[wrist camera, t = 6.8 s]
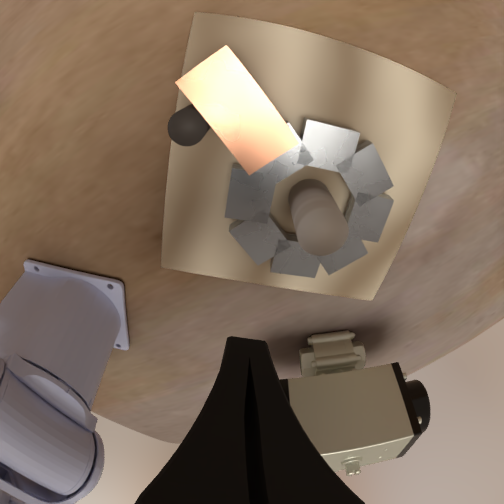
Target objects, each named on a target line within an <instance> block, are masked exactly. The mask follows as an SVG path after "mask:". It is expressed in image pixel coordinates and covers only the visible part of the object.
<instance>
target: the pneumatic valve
mask: <svg viewBox="0 0 504 504" xmlns="http://www.w3.org/2000/svg"><path fill="white" fill-rule="evenodd" d="M354 337H355V334H353V332H349V330H347V331H339V332H332V333H324V334H316V335H311V337H309V338H308V339H307V340H308V345H311V347H310V348H301V349H300V351H299V357H300V369H301V375H302V376H303V377H301V378H292V379H281V380H279V381H280V383H281V385H282V388H283V390H284V392H285V394H286V397H287V399H288V401H289V403H290V405H291V407H292V409H293V411H294V413H295V415H296V417H297V419H298V420H299V422H300V424H301V426H302V428H303V429H304V431H305V432H306V434H307V436H308V437H309V439H310V440H311V442H312V443H313V445H314V446H315V448H316V449H317V451H318V452H319V453H320V455H321V456H322V457H323V458H324V460H325V461H326V462H327V464H328V465H329V466H330V467H331V469H332V470H333V471H334V472H338V471H339V470H344V469H346V475H347V476H352V474H353V473H354V475H358V474H359V473H361V471H360V466H365V465H370V464H374V463H379V462H383V461H387V460H390V459H394V458H398V457H402V456H403V455H404V454H405V453H406V452H407V451H408V450H409V449H410V447H411V446H412V445H413V444H414V443H415V441H416V440H417V439H418V438H419V436H420V435H421V434H422V433H423V432H424V431H425V430H426V429H427V427H428V425H429V421H430V402H429V397H428V394H427V391H426V389H425V387H424V386H423V384H422V383H421V382H420V381H418V380H413V381H408V382H405V380H406V377H407V375H406V373H402V371H401V368H400V365H399V363H398V362H396V363H391V364H386V365H381V366H376V367H370V368H365V369H363V368H364V366H365V363H366V354H365V348H364V345H363V343H362V342H360V341H355V342H351V340H352V339H354Z"/></svg>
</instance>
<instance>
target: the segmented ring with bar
mask: <svg viewBox="0 0 504 504" xmlns="http://www.w3.org/2000/svg"><path fill="white" fill-rule="evenodd" d="M175 83H176V84H177V85H178V87H179V88H180V89H181V90H182V92H183V93H184V94H185V95H186V96H187V98H188V99H189V100H190V101H191V102H192V104H193V105H194V106H195V107H196V109H197V110H198V111H199V112H200V114H201V115H202V116H203V117H204V119H205V120H206V121H207V122H208V124H209V125H210V126H211V127H212V129H213V130H214V131H215V132H216V134H217V135H218V136H219V137H220V139H221V140H222V141H223V142H224V144H225V145H226V146H227V148H228V149H229V150H230V151H231V153H232V154H233V155H234V157H235V158H236V159H237V160H238V162H239V163H240V164H241V165H239V164H233V166H232V171H231V178H230V184H229V191H228V197H227V204H226V211H225V218H232V219H238V220H236V221H234V222H233V223H231V224H230V226H229V232H230V234H231V235H232V236H233V237H234V238H235V239H236V241H237V242H238V243H239V244H240V245H241V247H242V248H243V249H244V250H245V251H246V252H247V254H248V255H249V256H250V257H251V258H252V259H253V261H254V262H255V263H256V264H257V265H260V264H262V263H263V262H265V261H267V260H269V259H270V258H271V261H270V272H273V273H280V274H288V275H295V276H303V277H310V278H315V277H316V274H317V271H318V268H319V265H320V263H321V265H322V266H323V267H324V269H325V270H326V272H327V273H328V275H331V274H332V273H334V272H336V271H338V270H340V269H341V268H343V267H345V266H347V265H349V264H350V263H352V262H354V261H356V260H357V259H359V258H361V257H363V256H365V255H366V254H368V251H367V250H366V248H365V246H364V244H363V242H362V240H366V241H371V242H377V243H378V241H379V239H380V236H381V234H382V231H383V229H384V226H385V224H386V221H387V218H388V216H389V213H390V210H391V208H392V205H393V202H394V200H393V199H392V198H391V197H390V196H389V195H387V194H383V192H385V191H387V190H388V189H390V188H392V187H393V186H394V185H393V183H392V181H391V179H390V177H389V175H388V173H387V170H386V168H385V166H384V164H383V162H382V160H381V158H380V156H379V154H378V152H377V150H376V148H375V146H374V144H373V143H372V142H370V141H369V140H366V141H364V142H363V143H361V144H359V145H358V146H357V143H358V140H359V136H360V132H358V131H356V130H354V129H350V128H347V127H343V126H339V125H335V124H331V123H327V122H323V121H319V120H315V119H310V118H306V117H304V121H303V126H302V130H301V135H300V138H299V136H298V135H297V133H296V132H295V130H294V129H293V128H292V126H291V125H290V123H289V122H288V120H287V121H284V119H283V118H282V117H281V115H280V114H279V112H278V111H277V110H276V108H275V107H274V105H273V104H272V103H271V101H270V100H269V99H268V97H267V96H266V94H265V93H264V92H263V90H262V89H261V88H260V86H259V85H258V84H257V82H256V81H255V80H254V78H253V77H252V76H251V75H250V73H249V72H248V71H247V69H246V68H245V67H244V66H243V64H242V63H241V62H240V60H239V59H238V58H237V57H236V55H235V54H234V53H233V52H232V51H231V49H230V48H229V47H228V46H227V45H226V46H224V47H223V48H221V49H220V50H218V51H217V52H215V53H214V54H213V55H211V56H210V57H208V58H207V59H206V60H204V61H203V62H201V63H200V64H199V65H197V66H196V67H195V68H193V69H192V70H191V71H189V72H188V73H187V74H185V75H184V76H183V77H182V78H180V79H179V80H178V81H177V82H175ZM306 165H307V166H312V167H317V168H321V169H326V170H331V171H335V172H339V173H340V175H341V177H342V178H343V180H344V182H345V184H346V185H347V187H348V189H349V191H350V192H351V197H350V200H349V204H348V207H347V210H346V213H345V216H344V218H345V219H346V221H347V224H348V228H349V233H348V237H347V240H346V242H345V243H344V245H343V246H342V247H341V248H340V249H339V250H337V251H336V252H334V253H332V254H329V255H325V256H316V255H312V254H309V253H307V252H306V251H304V250H303V249H302V247H301V246H300V244H299V242H298V239H297V235H294V234H288V233H285V231H284V230H283V229H282V227H281V226H280V225H279V223H278V222H277V221H276V219H275V218H274V217H273V215H272V214H271V213H270V208H271V204H272V199H273V195H274V190H275V186H276V184H277V183H279V182H280V181H282V180H283V179H285V178H287V177H288V176H290V175H291V174H293V173H295V172H296V171H298V170H299V169H301V168H303V167H304V166H306Z"/></svg>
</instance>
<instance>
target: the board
mask: <svg viewBox="0 0 504 504" xmlns="http://www.w3.org/2000/svg"><path fill="white" fill-rule="evenodd" d="M226 45H227V46H228V47H229V48H230V49H231V51H232V52H233V53H234V54H235V55H236V57H237V58H238V59H239V60H240V62H241V63H242V64H243V66H244V67H245V68H246V69H247V71H248V72H249V73H250V75H251V76H252V77H253V78H254V80H255V81H256V82H257V84H258V85H259V86H260V88H261V89H262V90H263V92H264V93H265V94H266V96H267V97H268V99H269V100H270V101H271V103H272V104H273V105H274V107H275V108H276V110H277V111H278V112H279V114H280V115H281V117H282V118H283V119H284V121H287V120H288V122H289V123H290V125H291V126H292V128H293V129H294V130H295V132H296V133H297V135H298V136H299V138H300V135H301V130H302V126H303V121H304V117H306V118H310V119H315V120H319V121H323V122H327V123H331V124H335V125H339V126H343V127H347V128H350V129H354V130H356V131H358V132H360V136H359V140H358V143H357V146H358V145H359V144H361V143H363V142H364V141H366V140H369V141H370V142H372V143H373V144H374V146H375V148H376V150H377V152H378V154H379V156H380V158H381V160H382V162H383V164H384V166H385V168H386V170H387V173H388V175H389V177H390V179H391V181H392V183H393V185H394V186H393V187H392V188H390V189H388V190H387V191H385V192H383V194H387V195H389V196H390V197H391V198H392V199H393V200H394V202H393V205H392V208H391V210H390V213H389V216H388V218H387V221H386V224H385V226H384V229H383V231H382V234H381V236H380V239H379V241H378V243H377V242H371V241H366V240H362V242H363V244H364V246H365V248H366V250H367V251H368V254H366V255H365V256H363V257H361V258H359V259H357V260H356V261H354V262H352V263H350V264H349V265H347V266H345V267H343V268H341V269H340V270H338V271H336V272H334V273H332V274H331V275H328V273H327V272H326V270H325V269H324V267H323V266H322V265H321V263H320V265H319V268H318V271H317V274H316V277H315V278H310V277H303V276H295V275H288V274H280V273H273V272H270V261H271V258H270V259H269V260H267V261H265V262H263V263H262V264H260V265H257V264H256V263H255V262H254V261H253V259H252V258H251V257H250V256H249V255H248V254H247V252H246V251H245V250H244V249H243V248H242V247H241V245H240V244H239V243H238V242H237V241H236V239H235V238H234V237H233V236H232V235H231V234H230V232H229V226H230V224H231V223H233V222H234V221H236V220H238V219H232V218H225V211H226V204H227V197H228V191H229V184H230V178H231V171H232V166H233V164H239V165H241V164H240V163H239V162H238V160H237V159H236V158H235V157H234V155H233V154H232V153H231V151H230V150H229V149H228V148H227V146H226V145H225V144H224V142H223V141H222V140H221V139H220V137H219V136H218V135H217V134H216V132H215V131H214V130H213V129H212V127H211V126H210V125H209V124H208V122H207V121H206V120H205V119H204V117H203V116H202V115H201V114H200V112H199V111H198V110H197V109H196V107H195V106H194V105H193V104H192V102H191V101H190V100H189V99H188V98H187V96H186V95H185V94H184V93H183V92H182V90H181V89H180V88H179V93H178V99H177V106H176V112H175V113H174V114H173V115H172V117H171V118H170V120H169V122H168V133H169V136H170V138H171V139H172V141H171V149H170V157H169V166H168V175H167V185H166V196H165V207H164V220H163V235H162V253H161V267H162V268H167V269H173V270H178V271H184V272H190V273H195V274H201V275H207V276H213V277H218V278H224V279H230V280H236V281H242V282H248V283H255V284H261V285H267V286H273V287H280V288H286V289H293V290H299V291H306V292H313V293H320V294H327V295H334V296H341V297H348V298H355V299H363V300H370V301H372V300H373V298H374V296H375V294H376V293H377V291H378V289H379V287H380V285H381V283H382V281H383V279H384V277H385V275H386V273H387V271H388V269H389V267H390V265H391V263H392V261H393V259H394V257H395V255H396V253H397V251H398V249H399V247H400V245H401V243H402V241H403V239H404V236H405V234H406V232H407V230H408V228H409V225H410V223H411V221H412V219H413V216H414V214H415V212H416V209H417V207H418V205H419V202H420V200H421V197H422V195H423V192H424V190H425V187H426V185H427V182H428V180H429V177H430V174H431V172H432V169H433V166H434V164H435V161H436V158H437V155H438V153H439V150H440V147H441V144H442V141H443V138H444V135H445V132H446V129H447V125H448V122H449V119H450V116H451V112H452V109H453V105H454V102H455V98H456V95H457V93H455V92H454V91H452V90H450V89H448V88H447V87H445V86H443V85H441V84H439V83H437V82H435V81H434V80H432V79H430V78H428V77H426V76H424V75H422V74H420V73H418V72H416V71H413V70H411V69H409V68H407V67H405V66H403V65H400V64H398V63H396V62H394V61H391V60H389V59H387V58H384V57H382V56H379V55H377V54H374V53H372V52H369V51H367V50H364V49H361V48H358V47H356V46H353V45H350V44H347V43H344V42H341V41H338V40H335V39H332V38H329V37H325V36H322V35H318V34H315V33H311V32H308V31H304V30H300V29H296V28H292V27H288V26H284V25H279V24H275V23H270V22H265V21H260V20H254V19H248V18H242V17H236V16H229V15H221V14H212V13H203V12H195V13H194V18H193V22H192V26H191V31H190V35H189V40H188V45H187V50H186V55H185V60H184V65H183V70H182V76H181V78H182V77H183V76H184V75H185V74H187V73H188V72H189V71H191V70H192V69H193V68H195V67H196V66H197V65H199V64H200V63H201V62H203V61H204V60H206V59H207V58H208V57H210V56H211V55H213V54H214V53H215V52H217V51H218V50H220V49H221V48H223V47H224V46H226ZM350 197H351V192H350V191H349V189H348V187H347V185H346V184H345V182H344V180H343V178H342V177H341V175H340V173H339V172H335V171H331V170H326V169H321V168H317V167H312V166H307V165H306V166H304V167H303V168H301V169H299V170H298V171H296V172H295V173H293V174H291V175H290V176H288V177H287V178H285V179H283V180H282V181H280V182H279V183H277V184H276V186H275V190H274V195H273V199H272V204H271V208H270V213H271V214H272V215H273V217H274V218H275V219H276V221H277V222H278V223H279V225H280V226H281V227H282V229H283V230H284V231H285V233H288V234H294V235H297V239H298V242H299V244H300V246H301V247H302V249H303V250H304V251H306V252H307V253H309V254H312V255H316V256H325V255H329V254H332V253H334V252H336V251H337V250H339V249H340V248H341V247H342V246H343V245H344V243H345V242H346V240H347V237H348V233H349V228H348V224H347V221H346V219H345V218H344V216H345V213H346V210H347V207H348V204H349V200H350Z"/></svg>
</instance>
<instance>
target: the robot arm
mask: <svg viewBox="0 0 504 504" xmlns="http://www.w3.org/2000/svg"><path fill="white" fill-rule="evenodd" d="M37 267H38V268H37ZM24 269H25V272H24V273H23V275H22V276H21V277H20V278H19V279H18V281H17V282H16V283H15V285H14V286H13V287H12V288H11V290H10V291H9V292H8V294H7V295H6V296H5V298H4V299H3V300H2V302H1V303H0V504H75V503H76V502H77V501H78V500H80V499H81V498H83V497H85V496H86V495H87V494H89V493H90V492H91V491H92V490H93V489H94V487H95V486H96V485H97V483H98V481H99V480H100V477H101V475H102V471H103V467H104V446H103V442H102V439H101V437H100V435H99V434H98V433H97V432H96V431H95V426H96V423H97V418H96V417H95V416H93V415H92V414H91V413H90V411H91V408H92V405H93V402H94V399H95V396H96V393H97V390H98V387H99V384H100V381H101V379H102V376H103V373H104V370H105V367H106V365H107V362H108V359H109V357H110V354H111V351H112V349H113V348H117V349H121V350H128V349H129V346H130V344H129V336H128V327H127V317H126V306H125V294H124V285H123V283H122V282H121V281H119V280H115V279H111V278H106V277H101V276H97V275H92V274H88V273H83V272H79V271H74V270H70V269H66V268H62V267H57V266H53V265H49V264H45V263H41V262H37V261H33V260H29V259H27V260H25V262H24ZM110 284H111V285H113V286H111V285H110ZM135 504H365V503H364V502H363V501H362V500H361V499H360V498H359V497H358V496H357V495H356V494H355V493H353V492H352V491H351V490H350V488H348V487H347V486H346V485H345V483H344V482H343V481H342V480H341V479H340V478H339V477H338V476H337V475H336V473H335V472H334V471H333V470H332V469H331V467H330V466H329V465H328V464H327V462H326V461H325V460H324V458H323V457H322V456H321V455H320V453H319V452H318V451H317V449H316V448H315V446H314V445H313V443H312V442H311V440H310V439H309V437H308V436H307V434H306V432H305V431H304V429H303V428H302V426H301V424H300V422H299V420H298V419H297V417H296V415H295V413H294V411H293V409H292V407H291V405H290V403H289V401H288V399H287V397H286V394H285V392H284V390H283V388H282V385H281V383H280V381H279V378H278V376H277V373H276V370H275V367H274V365H273V362H272V359H271V356H270V352H269V349H268V345H267V343H266V342H265V341H262V340H254V339H247V338H240V337H233V336H231V337H228V338H227V341H226V346H225V350H224V354H223V359H222V363H221V368H220V371H219V373H218V376H217V378H216V381H215V383H214V386H213V388H212V390H211V392H210V394H209V396H208V398H207V400H206V402H205V404H204V406H203V408H202V410H201V412H200V414H199V416H198V417H197V419H196V421H195V422H194V424H193V426H192V427H191V429H190V431H189V432H188V434H187V435H186V437H185V438H184V440H183V441H182V443H181V444H180V446H179V447H178V449H177V450H176V452H175V453H174V454H173V456H172V457H171V458H170V460H169V461H168V462H167V464H166V465H165V466H164V467H163V469H162V470H161V471H160V472H159V474H158V475H157V476H156V477H155V478H154V479H153V481H152V482H151V483H150V484H149V485H148V486H147V487H146V488H145V490H144V491H143V492H142V493H141V494H140V496H139V497H138V499H137V501H136V503H135Z"/></svg>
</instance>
